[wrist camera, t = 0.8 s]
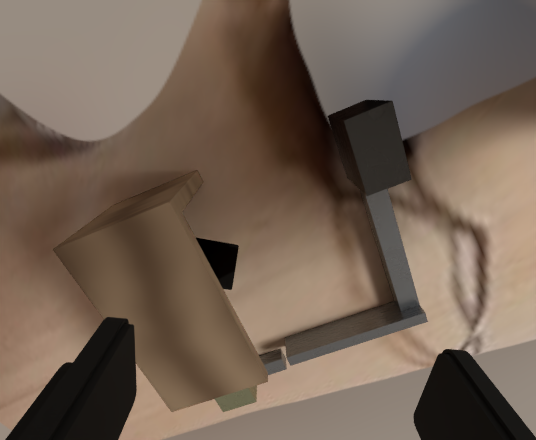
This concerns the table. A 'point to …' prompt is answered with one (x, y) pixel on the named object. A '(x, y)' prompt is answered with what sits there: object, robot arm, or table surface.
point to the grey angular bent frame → (383, 226)
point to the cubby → (164, 295)
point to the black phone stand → (221, 260)
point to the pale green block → (273, 364)
